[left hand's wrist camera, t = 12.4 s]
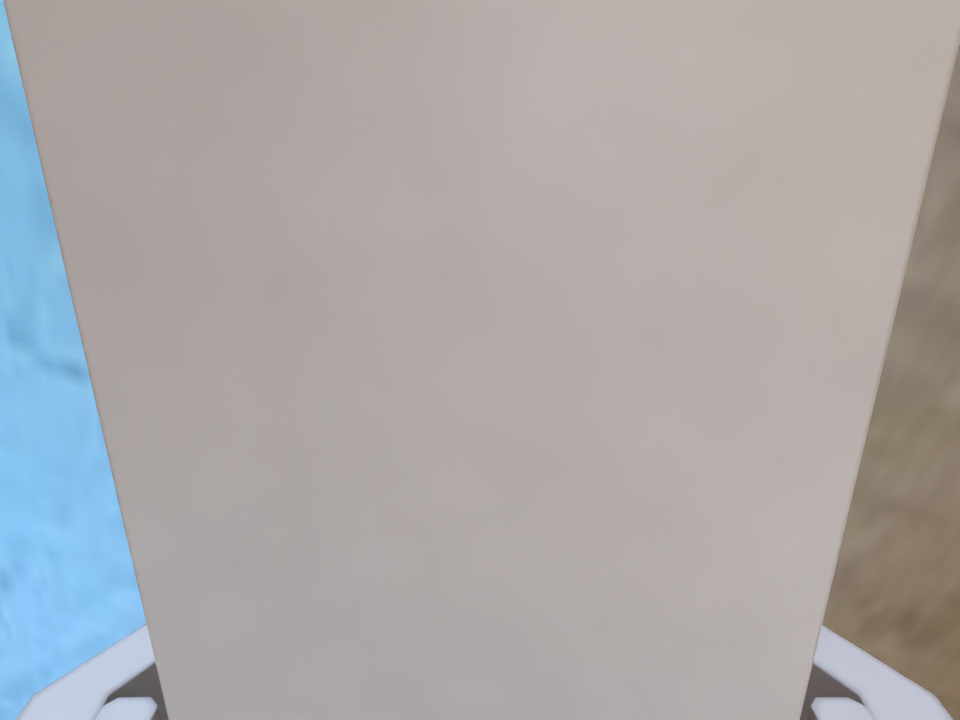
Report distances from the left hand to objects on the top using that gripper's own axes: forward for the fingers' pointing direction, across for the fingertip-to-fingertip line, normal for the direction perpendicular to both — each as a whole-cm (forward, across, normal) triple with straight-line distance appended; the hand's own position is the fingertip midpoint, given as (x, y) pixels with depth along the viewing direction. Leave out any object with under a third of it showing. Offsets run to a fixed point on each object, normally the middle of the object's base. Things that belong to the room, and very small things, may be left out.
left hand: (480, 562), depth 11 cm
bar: (+4, 0, -10) cm, 11 cm away
